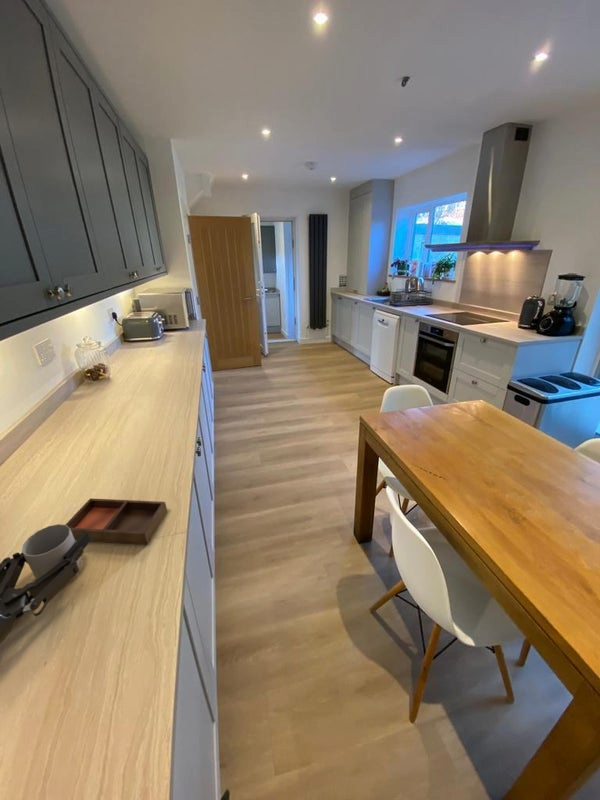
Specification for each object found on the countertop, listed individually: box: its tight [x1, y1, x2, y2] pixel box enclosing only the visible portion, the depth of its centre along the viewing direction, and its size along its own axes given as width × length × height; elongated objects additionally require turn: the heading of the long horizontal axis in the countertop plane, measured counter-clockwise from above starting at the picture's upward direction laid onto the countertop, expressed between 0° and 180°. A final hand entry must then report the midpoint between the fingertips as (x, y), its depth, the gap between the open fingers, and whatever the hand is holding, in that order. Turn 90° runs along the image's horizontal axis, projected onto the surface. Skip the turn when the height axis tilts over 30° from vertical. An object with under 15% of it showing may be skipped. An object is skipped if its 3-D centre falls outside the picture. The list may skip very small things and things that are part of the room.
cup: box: [21, 523, 84, 583], centre depth 70 cm, size 8×8×10 cm
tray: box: [64, 497, 168, 545], centre depth 84 cm, size 21×11×4 cm, turn 86°
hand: (68, 535), depth 74 cm, fingers closed on cup, 8 cm apart
